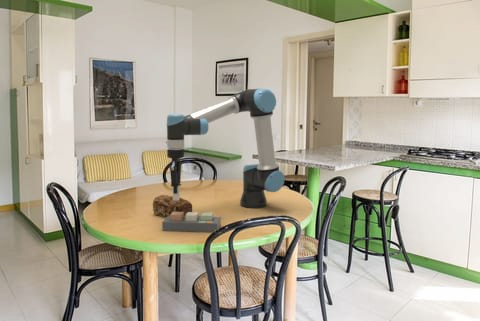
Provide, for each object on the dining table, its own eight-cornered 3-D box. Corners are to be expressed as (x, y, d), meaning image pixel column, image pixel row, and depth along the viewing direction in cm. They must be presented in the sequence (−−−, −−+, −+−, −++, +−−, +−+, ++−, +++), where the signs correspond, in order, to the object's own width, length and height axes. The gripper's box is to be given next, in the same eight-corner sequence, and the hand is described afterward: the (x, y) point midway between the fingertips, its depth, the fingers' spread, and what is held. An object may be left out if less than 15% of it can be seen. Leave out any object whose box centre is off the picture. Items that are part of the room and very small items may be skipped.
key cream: (198, 219, 188) (198, 212, 187) (196, 222, 183) (196, 215, 182) (187, 219, 188) (187, 212, 188) (185, 222, 183) (185, 215, 183)
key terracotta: (183, 219, 188) (183, 212, 188) (181, 222, 184) (181, 214, 183) (173, 219, 189) (173, 211, 188) (170, 222, 184) (170, 214, 183)
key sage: (213, 220, 187) (213, 212, 187) (211, 223, 182) (211, 215, 182) (202, 219, 188) (202, 212, 187) (200, 222, 183) (200, 215, 182)
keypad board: (220, 225, 190) (220, 216, 190) (217, 232, 180) (217, 223, 179) (168, 223, 193) (168, 214, 192) (162, 230, 182) (162, 221, 181)
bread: (152, 215, 207) (151, 196, 205) (167, 210, 216) (166, 192, 214) (178, 221, 196) (178, 201, 195) (193, 216, 205) (193, 197, 204)
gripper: (171, 147, 188) (171, 196, 191) (163, 150, 175) (164, 203, 178) (187, 147, 188) (187, 197, 191) (180, 150, 175) (180, 203, 178)
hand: (176, 200), depth 185 cm, fingers closed
